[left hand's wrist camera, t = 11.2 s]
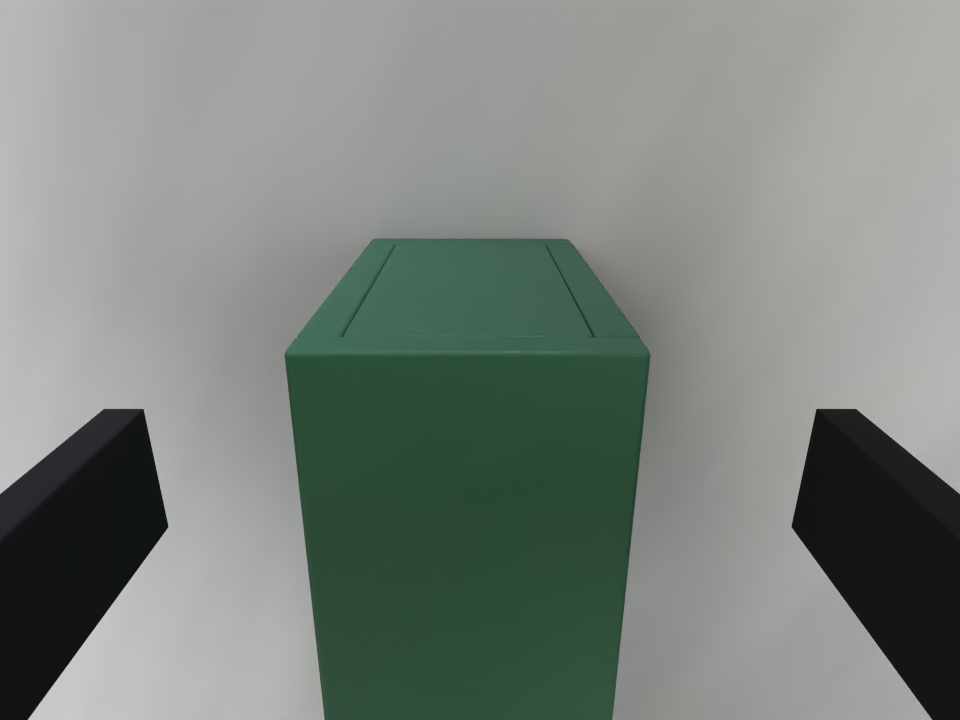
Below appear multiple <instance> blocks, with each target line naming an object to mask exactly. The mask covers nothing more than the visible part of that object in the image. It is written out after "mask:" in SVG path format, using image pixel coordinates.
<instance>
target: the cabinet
mask: <svg viewBox="0 0 960 720" xmlns="http://www.w3.org/2000/svg"><path fill="white" fill-rule="evenodd" d="M285 363H286V372H287V381H288V390H289V399H290V408H291V417H292V426H293V435H294V444H295V453H296V463H297V472H298V481H299V490H300V499H301V508H302V517H303V526H304V535H305V544H306V553H307V562H308V571H309V580H310V589H311V599H312V608H313V617H314V626H315V635H316V644H317V653H318V662H319V671H320V680H321V689H322V698H323V707H324V716H325V720H612V716H613V706H614V697H615V687H616V678H617V668H618V659H619V649H620V640H621V630H622V621H623V611H624V602H625V592H626V583H627V573H628V564H629V554H630V545H631V535H632V525H633V516H634V506H635V497H636V487H637V478H638V468H639V459H640V449H641V440H642V430H643V421H644V411H645V402H646V392H647V383H648V373H649V364H650V353H649V351H648V349H647V348H646V346H645V345H644V344H643V342H642V341H641V339H640V337H639V335H638V334H637V332H636V331H635V329H634V328H633V327H632V325H631V324H630V323H629V321H628V320H627V318H626V317H625V316H624V314H623V313H622V312H621V310H620V309H619V307H618V306H617V305H616V303H615V302H614V301H613V299H612V298H611V296H610V295H609V294H608V292H607V291H606V290H605V288H604V287H603V285H602V284H601V283H600V281H599V280H598V279H597V277H596V276H595V274H594V273H593V272H592V270H591V269H590V268H589V266H588V265H587V263H586V262H585V261H584V259H583V258H582V257H581V255H580V254H579V252H578V251H577V250H576V248H575V247H574V246H573V245H572V244H571V243H570V241H569V240H564V239H374V240H372V241H371V243H370V244H369V245H368V246H367V248H366V249H365V250H364V252H363V253H362V254H361V255H360V257H359V258H358V259H357V261H356V262H355V263H354V264H353V266H352V267H351V268H350V270H349V271H348V272H347V273H346V275H345V276H344V277H343V278H342V280H341V281H340V282H339V284H338V285H337V286H336V287H335V289H334V290H333V291H332V293H331V294H330V295H329V296H328V298H327V299H326V300H325V301H324V303H323V304H322V305H321V307H320V308H319V309H318V310H317V312H316V313H315V314H314V316H313V317H312V318H311V319H310V321H309V322H308V323H307V325H306V326H305V327H304V328H303V330H302V331H301V332H300V333H299V335H298V337H297V338H296V339H295V340H294V341H293V342H292V344H291V345H290V346H289V348H288V349H287V350H286V352H285Z"/></svg>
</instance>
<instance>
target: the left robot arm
mask: <svg viewBox="0 0 960 720" xmlns="http://www.w3.org/2000/svg"><path fill="white" fill-rule="evenodd" d="M167 528H168V523H167V518H166V513H165V508H164V504H163V499H162V494H161V490H160V485H159V480H158V475H157V471H156V466H155V461H154V457H153V452H152V447H151V442H150V438H149V433H148V428H147V424H146V419H145V414H144V409H104V410H102V411H101V412H100V413H99V414H98V415H96V416H95V417H94V418H93V419H91V420H90V421H89V422H88V423H87V424H85V425H84V426H83V427H82V428H80V429H79V430H78V431H77V432H76V433H74V434H73V435H72V436H71V437H69V438H68V439H67V440H66V441H65V442H63V443H62V444H61V445H60V446H59V447H57V448H56V449H55V450H54V451H52V452H51V453H50V454H49V455H48V456H46V457H45V458H44V459H43V460H41V461H40V462H39V463H38V464H37V465H35V466H34V467H33V468H32V469H30V470H29V471H28V472H27V473H26V474H24V475H23V476H22V477H21V478H20V479H18V480H17V481H16V482H15V483H13V484H12V485H11V486H10V487H9V488H7V489H6V490H5V491H4V492H2V493H1V494H0V720H28V719H29V717H30V716H31V714H32V713H33V712H34V710H35V709H36V708H37V706H38V705H39V703H40V702H41V701H42V699H43V698H44V697H45V695H46V694H47V693H48V691H49V690H50V688H51V687H52V686H53V684H54V683H55V682H56V680H57V679H58V677H59V676H60V675H61V673H62V672H63V671H64V669H65V668H66V667H67V665H68V664H69V662H70V661H71V660H72V658H73V657H74V656H75V654H76V653H77V651H78V650H79V649H80V647H81V646H82V645H83V643H84V642H85V641H86V639H87V638H88V636H89V635H90V634H91V632H92V631H93V630H94V628H95V627H96V625H97V624H98V623H99V621H100V620H101V619H102V617H103V616H104V615H105V613H106V612H107V610H108V609H109V608H110V606H111V605H112V604H113V602H114V601H115V599H116V598H117V597H118V595H119V594H120V593H121V591H122V590H123V589H124V587H125V586H126V584H127V583H128V582H129V580H130V579H131V578H132V576H133V575H134V573H135V572H136V571H137V569H138V568H139V567H140V565H141V564H142V563H143V561H144V560H145V558H146V557H147V556H148V554H149V553H150V552H151V550H152V549H153V547H154V546H155V545H156V543H157V542H158V541H159V539H160V538H161V537H162V535H163V534H164V532H165V531H166V530H167ZM792 528H793V530H794V531H795V532H796V534H797V535H798V537H799V538H800V539H801V541H802V542H803V543H804V545H805V546H806V547H807V549H808V550H809V552H810V553H811V554H812V556H813V557H814V558H815V560H816V561H817V563H818V564H819V565H820V567H821V568H822V569H823V571H824V572H825V573H826V575H827V576H828V578H829V579H830V580H831V582H832V583H833V584H834V586H835V587H836V589H837V590H838V591H839V593H840V594H841V595H842V597H843V598H844V599H845V601H846V602H847V604H848V605H849V606H850V608H851V609H852V610H853V612H854V613H855V615H856V616H857V617H858V619H859V620H860V621H861V623H862V624H863V625H864V627H865V628H866V630H867V631H868V632H869V634H870V635H871V636H872V638H873V639H874V641H875V642H876V643H877V645H878V646H879V647H880V649H881V650H882V651H883V653H884V654H885V656H886V657H887V658H888V660H889V661H890V662H891V664H892V665H893V667H894V668H895V669H896V671H897V672H898V673H899V675H900V676H901V677H902V679H903V680H904V682H905V683H906V684H907V686H908V687H909V688H910V690H911V691H912V693H913V694H914V695H915V697H916V698H917V699H918V701H919V702H920V703H921V705H922V706H923V708H924V709H925V710H926V712H927V713H928V714H929V716H930V717H931V719H932V720H960V494H959V493H958V492H956V491H955V490H954V489H953V488H951V487H950V486H949V485H948V484H947V483H945V482H944V481H943V480H942V479H940V478H939V477H938V476H937V475H936V474H934V473H933V472H932V471H931V470H930V469H928V468H927V467H926V466H925V465H923V464H922V463H921V462H920V461H919V460H917V459H916V458H915V457H914V456H912V455H911V454H910V453H909V452H908V451H906V450H905V449H904V448H903V447H901V446H900V445H899V444H898V443H897V442H895V441H894V440H893V439H892V438H891V437H889V436H888V435H887V434H886V433H884V432H883V431H882V430H881V429H880V428H878V427H877V426H876V425H875V424H873V423H872V422H871V421H870V420H869V419H867V418H866V417H865V416H864V415H862V414H861V413H860V412H859V411H858V410H856V409H816V414H815V419H814V424H813V428H812V433H811V438H810V442H809V447H808V452H807V457H806V461H805V466H804V471H803V475H802V480H801V485H800V490H799V494H798V499H797V504H796V508H795V513H794V518H793V523H792Z"/></svg>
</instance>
